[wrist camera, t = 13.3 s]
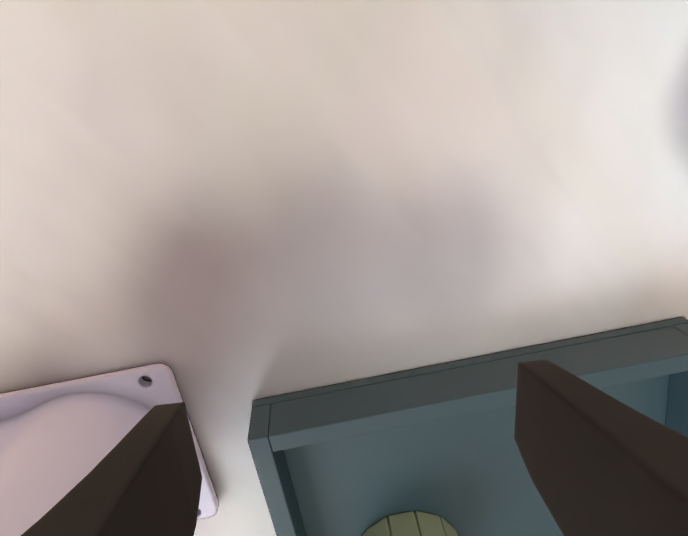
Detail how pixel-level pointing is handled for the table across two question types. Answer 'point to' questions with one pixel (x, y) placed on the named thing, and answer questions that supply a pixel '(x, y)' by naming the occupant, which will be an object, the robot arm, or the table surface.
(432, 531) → the sage ring
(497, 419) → the dark teal tray
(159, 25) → the table surface
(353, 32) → the table surface
